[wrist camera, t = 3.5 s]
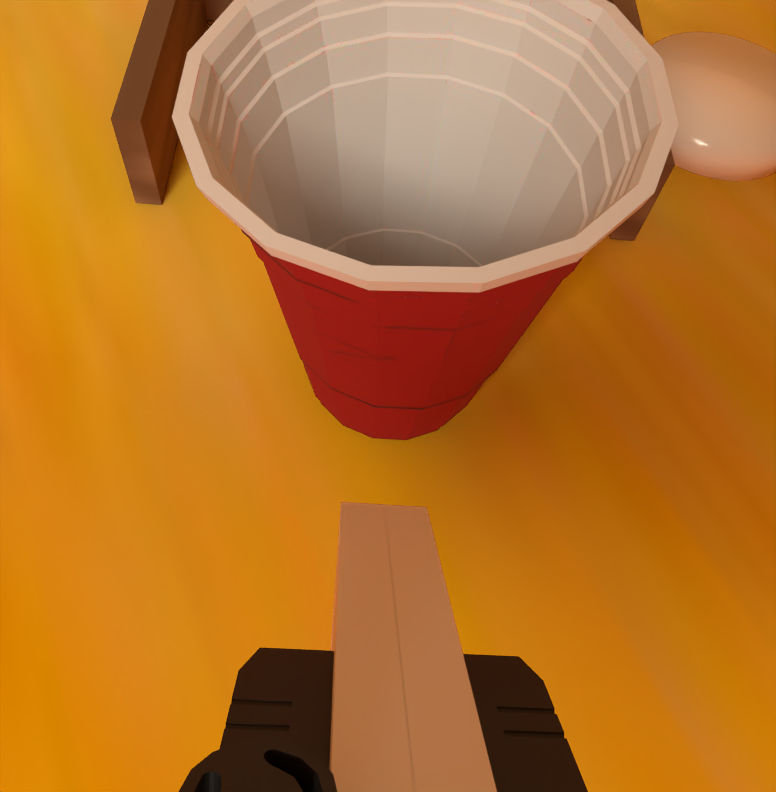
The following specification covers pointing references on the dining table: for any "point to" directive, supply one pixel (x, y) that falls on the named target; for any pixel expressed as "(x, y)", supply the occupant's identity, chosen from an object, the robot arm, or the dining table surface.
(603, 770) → the dining table surface
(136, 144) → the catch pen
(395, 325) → the plastic cup
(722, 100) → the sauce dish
